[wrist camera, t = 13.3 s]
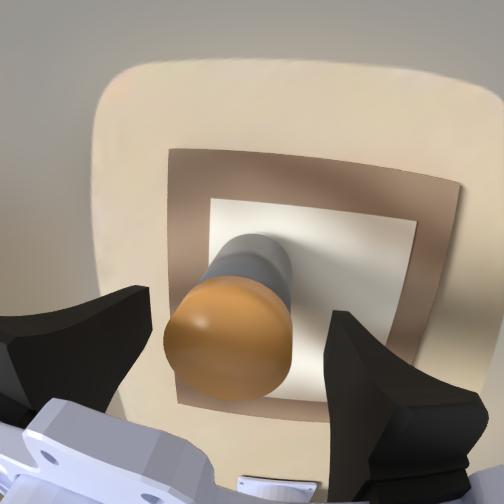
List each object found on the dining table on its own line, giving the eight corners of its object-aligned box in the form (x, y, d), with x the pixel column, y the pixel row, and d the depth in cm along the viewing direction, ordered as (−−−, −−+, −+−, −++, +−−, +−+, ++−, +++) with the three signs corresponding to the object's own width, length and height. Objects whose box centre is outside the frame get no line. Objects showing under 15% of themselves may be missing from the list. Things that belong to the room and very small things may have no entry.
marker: (288, 304, 18) (282, 408, 10) (215, 294, 18) (167, 388, 11) (298, 232, 16) (301, 307, 9) (218, 223, 17) (160, 287, 9)
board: (382, 414, 21) (384, 424, 20) (181, 394, 23) (176, 404, 22) (452, 180, 15) (461, 183, 14) (175, 148, 17) (167, 149, 16)
